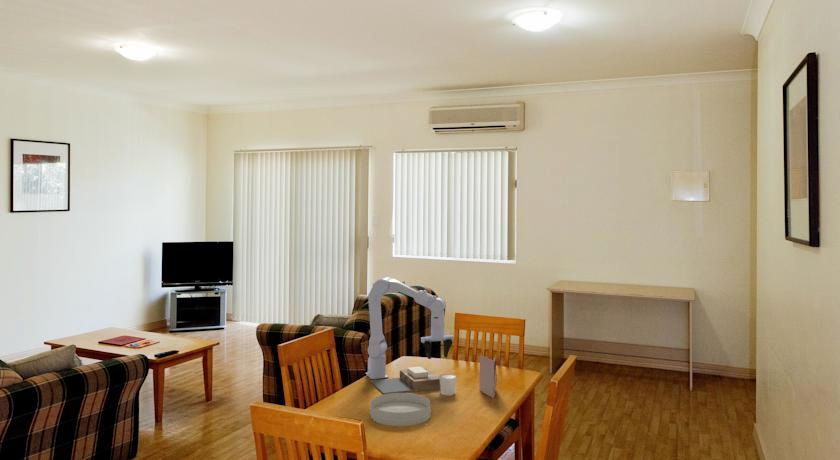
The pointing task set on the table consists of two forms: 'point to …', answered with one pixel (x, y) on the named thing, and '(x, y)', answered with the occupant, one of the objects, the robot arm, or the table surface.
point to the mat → (391, 386)
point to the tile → (417, 372)
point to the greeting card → (488, 376)
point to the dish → (400, 409)
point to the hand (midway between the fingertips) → (437, 357)
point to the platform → (420, 380)
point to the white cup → (447, 384)
